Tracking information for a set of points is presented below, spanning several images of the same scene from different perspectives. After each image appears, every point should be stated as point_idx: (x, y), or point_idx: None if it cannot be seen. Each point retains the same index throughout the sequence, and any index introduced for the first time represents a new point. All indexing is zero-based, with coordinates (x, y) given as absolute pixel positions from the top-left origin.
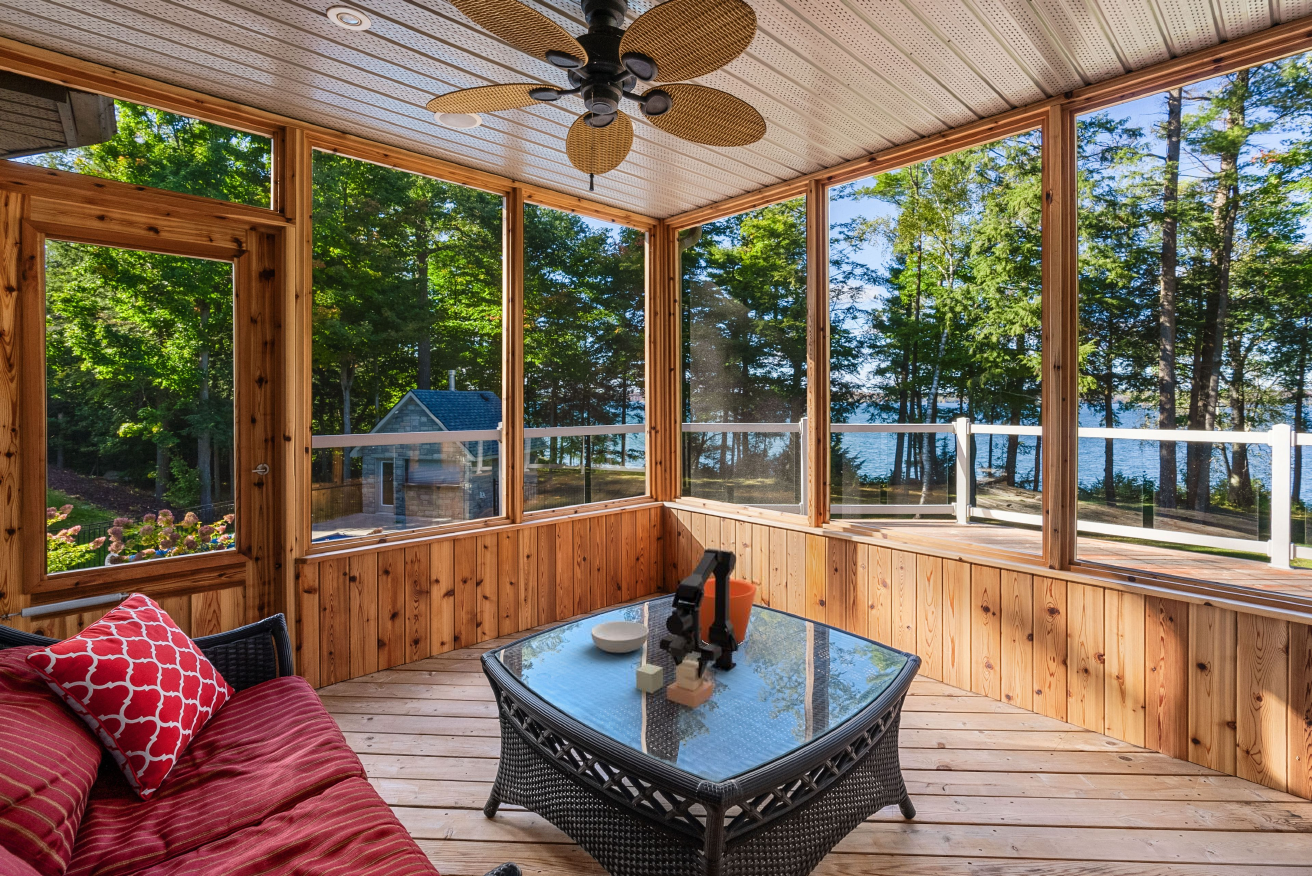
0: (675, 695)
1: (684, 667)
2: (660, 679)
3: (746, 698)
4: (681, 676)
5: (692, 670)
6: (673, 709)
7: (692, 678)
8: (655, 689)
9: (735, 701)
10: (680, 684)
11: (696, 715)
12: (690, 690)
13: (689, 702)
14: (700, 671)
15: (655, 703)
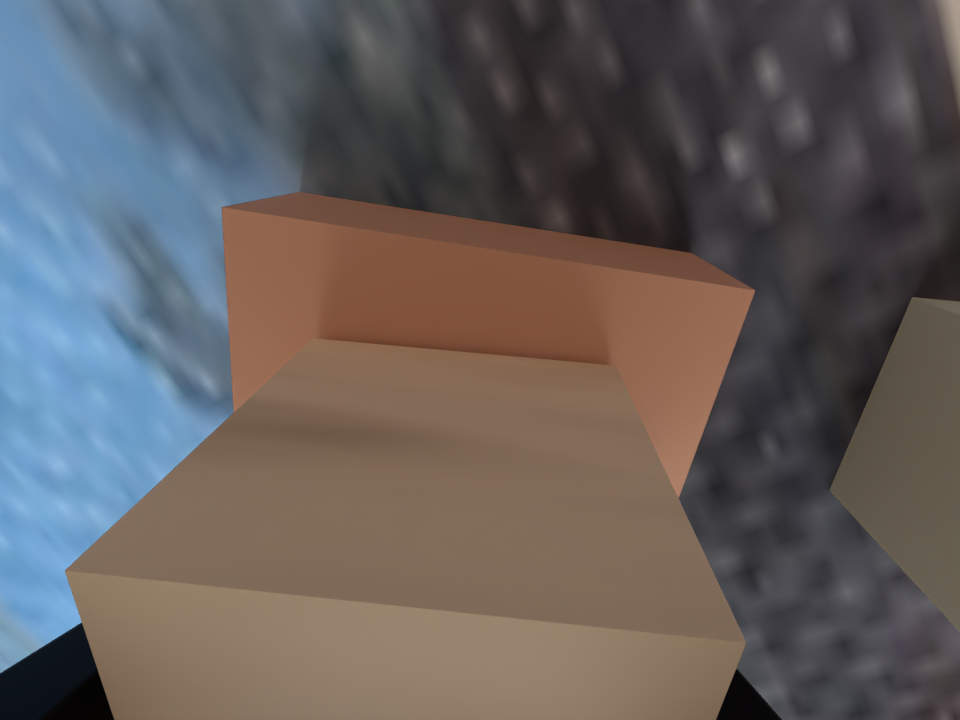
0: (574, 247)
1: (456, 663)
2: (912, 510)
3: (55, 564)
4: (525, 448)
5: (115, 580)
6: (498, 11)
7: (245, 436)
8: (897, 369)
9: (82, 490)
10: (543, 376)
11: (170, 14)
12: (371, 341)
13: (356, 208)
14: (57, 648)
15: (794, 48)
